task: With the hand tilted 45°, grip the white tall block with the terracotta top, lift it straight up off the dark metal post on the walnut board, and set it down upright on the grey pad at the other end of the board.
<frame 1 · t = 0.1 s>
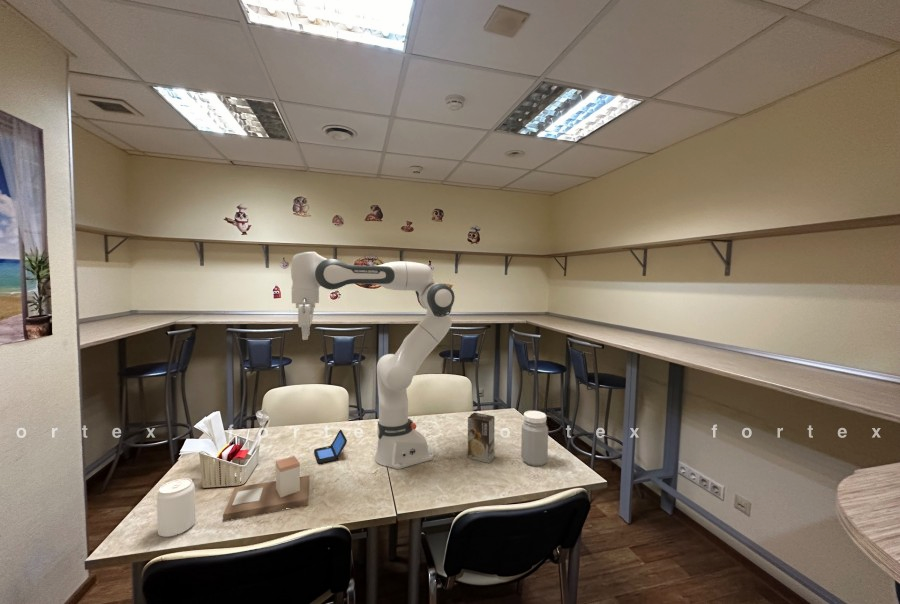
hand: (306, 337, 123), 48 cm above the table, tool pointing down, fingers open, 8 cm apart
jar: (534, 461, 134), on the table
handheld game console: (330, 456, 138), on the table
board: (270, 499, 109), on the table
white cylinder: (177, 528, 96), on the table
coffee box: (481, 457, 136), on the table
white tall block: (287, 489, 111), point 2 cm above the table, touching board
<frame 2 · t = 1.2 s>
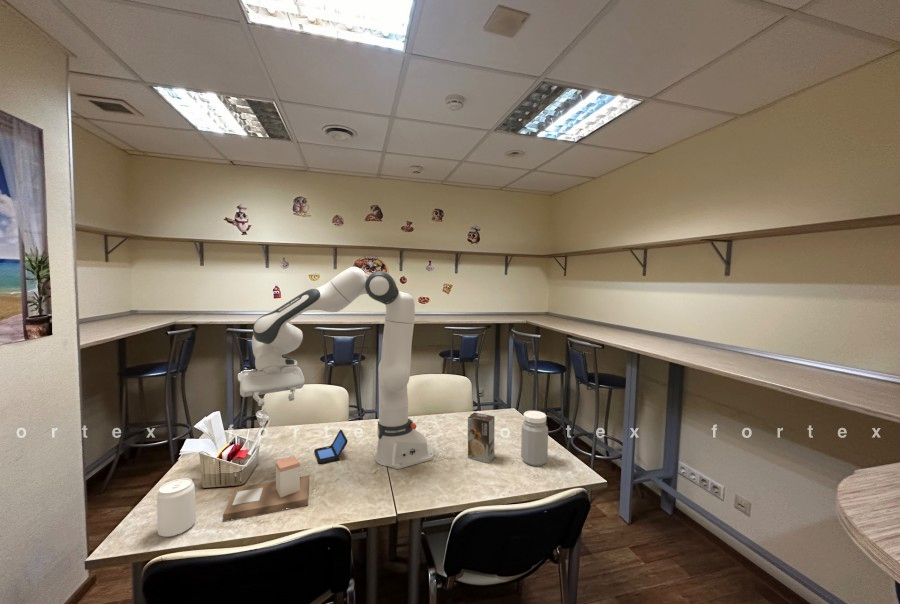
hand: (277, 402, 119), 27 cm above the table, tool tilted 45°, fingers open, 8 cm apart
nothing on the table moved.
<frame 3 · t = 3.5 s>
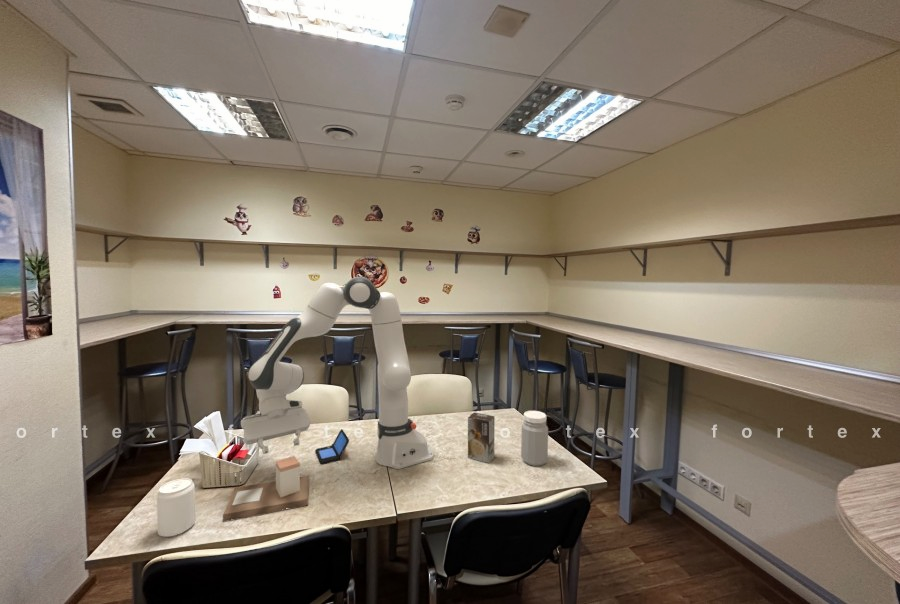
hand: (281, 448, 115), 13 cm above the table, tool tilted 45°, fingers open, 8 cm apart
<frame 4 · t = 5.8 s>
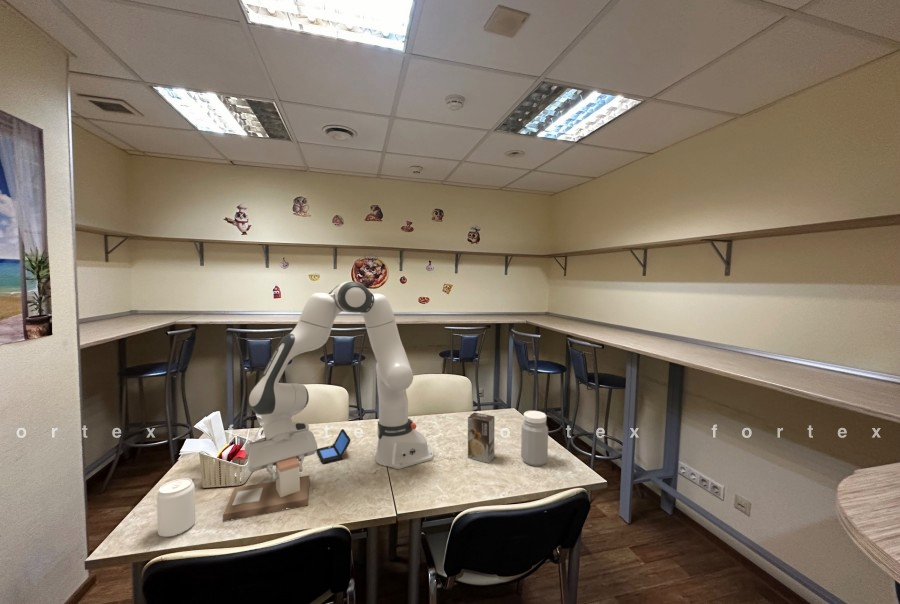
hand: (288, 475, 110), 7 cm above the table, tool tilted 45°, fingers closed on white tall block, 6 cm apart
white tall block: (287, 489, 111), point 2 cm above the table, touching board, gripper
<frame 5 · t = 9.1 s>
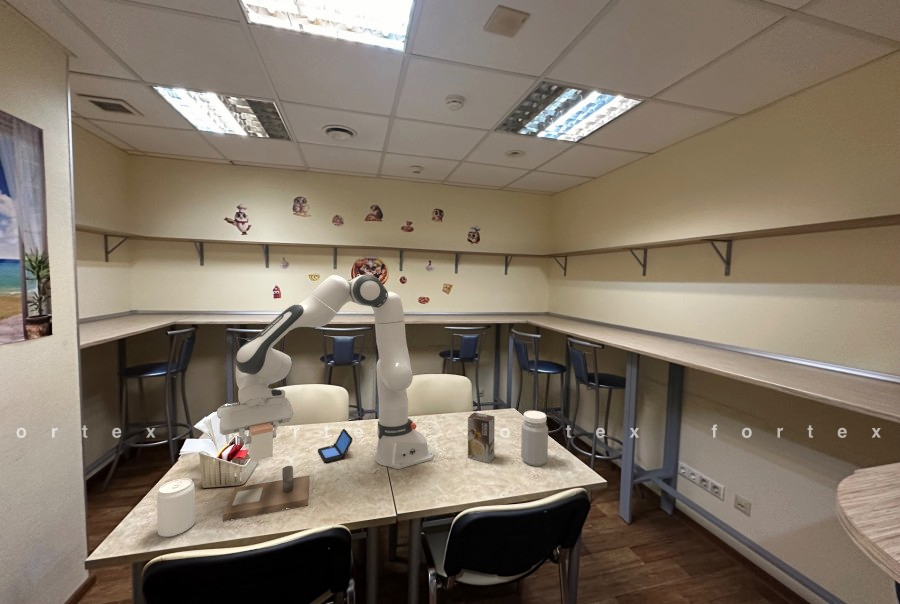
hand: (261, 440, 107), 19 cm above the table, tool tilted 45°, fingers closed on white tall block, 6 cm apart
white tall block: (260, 455, 107), point 14 cm above the table, touching gripper
when the fingers open (8 cm above the table, at t = 12.3 s): white tall block drops 1 cm, resting on board.
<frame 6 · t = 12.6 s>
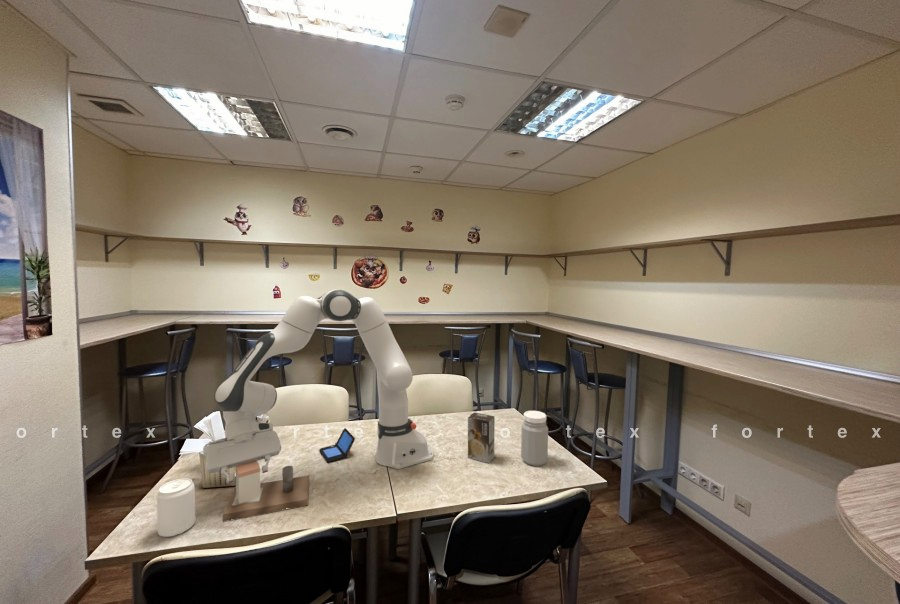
hand: (248, 477, 106), 8 cm above the table, tool tilted 45°, fingers open, 8 cm apart
white tall block: (248, 495, 107), point 2 cm above the table, touching board
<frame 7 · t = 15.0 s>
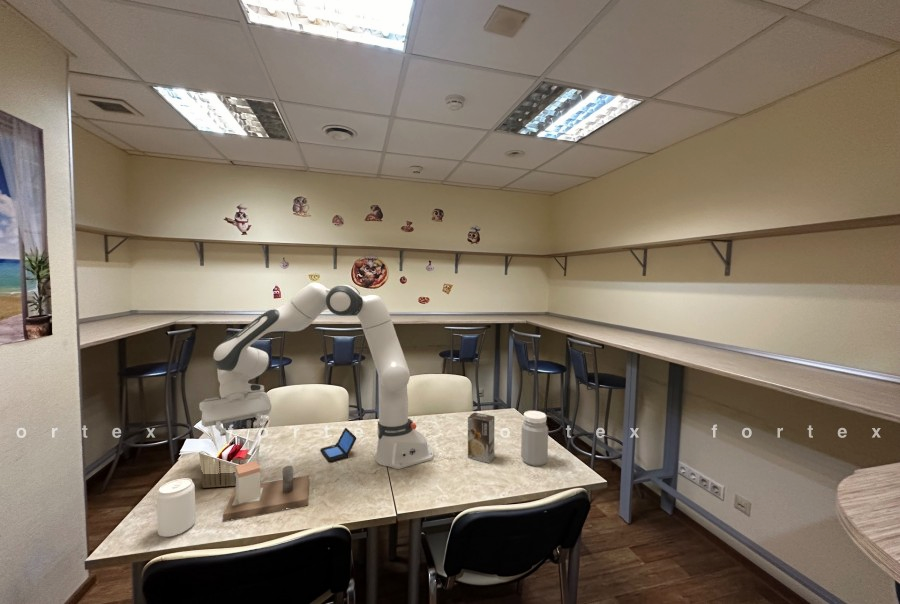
hand: (240, 431, 115), 18 cm above the table, tool tilted 45°, fingers open, 8 cm apart
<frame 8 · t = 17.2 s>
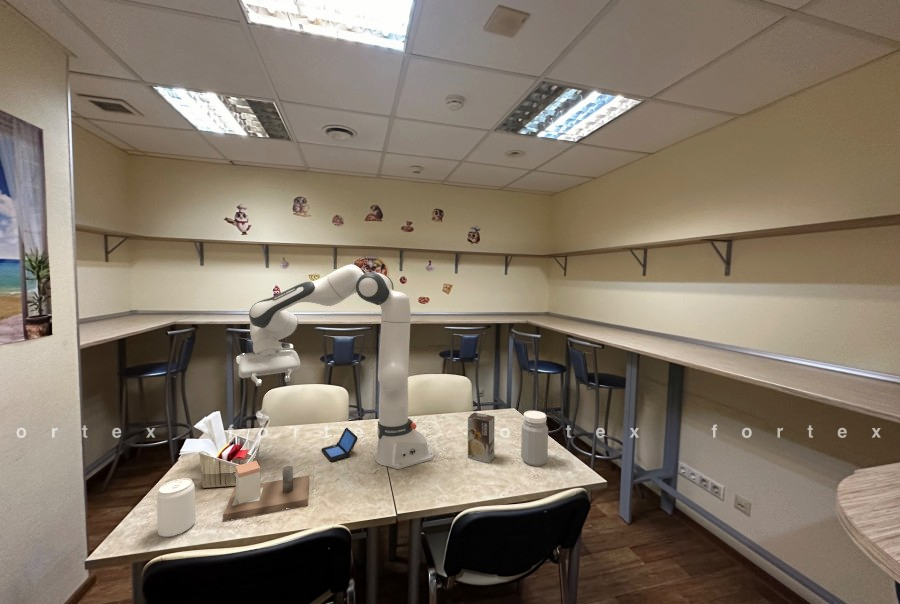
hand: (273, 382, 125), 31 cm above the table, tool tilted 45°, fingers open, 8 cm apart
at the end: white tall block 0.1 cm from the target spot on the board, point 2.3 cm above the board's base; white tall block tilted 0°; the gripper is holding nothing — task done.
